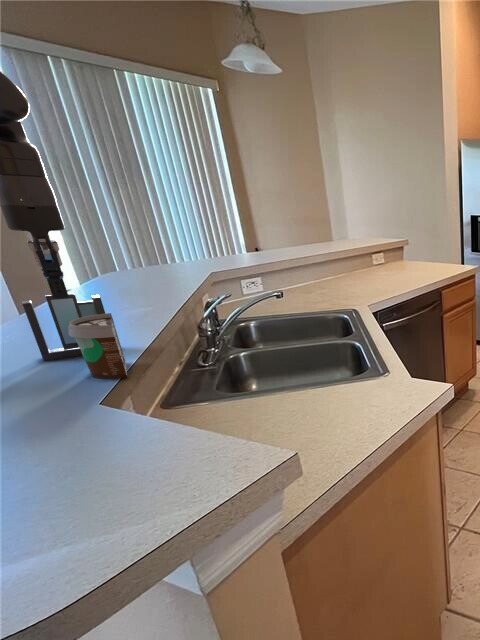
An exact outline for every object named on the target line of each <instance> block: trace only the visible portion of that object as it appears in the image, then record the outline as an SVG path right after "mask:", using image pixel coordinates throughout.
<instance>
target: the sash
mask: <svg viewBox="0 0 480 640" xmlns="http://www.w3.org/2000/svg"><path fill="white" fill-rule="evenodd" d="M44 297H45V299H46V302H47V303H46V304H47V306H48V308H49V311H50V314H51V316H52V319H53V322H54V324H55V329H56V331H57V334H58V337H59V339H60V342H61V346H62V348H64V350H65V349H73V348H79V345H78V343H77V341H76V339H75V337H71V336H69V332H68V326H69V325H70V323H69V322H70V321H72V320H74V319H78V318H81V317H82V315H81V312H80V309H79V306H78V303H77V302H78V300H77V297H76V294H75V293H73V292H72V293H68V297H67V298H59V299H56V298H54V297H53V296H52V294H47V295H44Z"/></svg>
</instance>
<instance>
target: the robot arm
mask: <svg viewBox="0 0 480 640" xmlns="http://www.w3.org/2000/svg"><path fill="white" fill-rule="evenodd" d="M29 113H30V103H29V101H28V98H27V96H26V95H25V93H24V92H23V91H22V90H21V88H19V86H18V85H17V84H16V83H15V82H14V81H13V80H11V78H10V77H8V76H7V75H6V74H4V73H3V72H2V71H1V70H0V210H1V212H2V215H3V218H4V221H5V223H6V226H7V228H8V229H9V230H11V231H15V232H28V233H30V236H31V239H32V240H26V242H27V245H28V248H29V251H31V252H32V254H33V257H34V260H35V263H36V265H37V266H38V267H40V268H41V269H40V270H41V272H42V275H43V278H45V280H46V281H47V285H48V287H49V290H50V292H51V293H50V294H51V295H52V296H53V297H54V298H56V299H59V298H67V297H68V294H69V293H68V290H67V287H66V284H65V281H64V277H65V275H64V272H63V271H62V266H63V262H62V259H61V256H60V253H59V251H60V246H59V244H58V241H57V240H56V239H51V237H50V235H49V233H50V232H58V231H64V230H65V228H66V227H65V224H64V220H63V218H62V214H61V210H60V208H59V205H58V202H57V198H56V195H55V192H54V189H53V188H52V185H51V184H50V181H49V179H48V176H47V173H46V170H45V166H44V163H43V160H42V158H41V155H40V152H39V150H38V149H37V147H36V146H35V145H34V144H32V143H31V142H30V141H29V139H28V137H27V134H26V131H25V128H24V126H23V123H22V121H23V120H24V119H26V118H27V117H28V115H29Z"/></svg>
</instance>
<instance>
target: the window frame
mask: <svg viewBox="0 0 480 640" xmlns="http://www.w3.org/2000/svg"><path fill="white" fill-rule="evenodd" d="M21 302H22V303H21V304H22V307H23V310H24V312H25V315H26V318H27V320H28V324H29V326H30V329H31V331H32V333H33V337H34V339H35V342H36V344H37V347H38V350H39V352H40V355H41V358H42V360H43V362H47V361H53V360H60V359H66V358H74V357H75V358H76V357H81V356H83V354H82V352H81V350H80V348H73V349H65V350H64V348H63V347H57V348H50V349H49V346H48V344H47V341H46V339H45V336H44V332H43V330H42V328H41V324H40V321H39V319H38V316H37V313H36V311H35V308H34V305H33V303H32V300H22V301H21ZM77 303H78V306H79V309H80V312H81V315H82V317H86V316H92V315H98V314H106V311H105V310H106V309H105V307H104V305H103V300H102V298H101V297H100V295H99V294H96V295H91V300H86V301H77Z"/></svg>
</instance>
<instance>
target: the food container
mask: <svg viewBox="0 0 480 640" xmlns="http://www.w3.org/2000/svg"><path fill="white" fill-rule="evenodd" d="M69 323H70V325H69V326H68V332H69V336H71V337H75V339H76V341H77V343H78V345H79V348H80V350H81V352H82V354H83V355H82V356H83V359H84V362H85V364H86V366H87V368H88V371H89V373H90V375H91V377H93V378H95V379H102V380H108V379H121V378H127V377H128V372H127V371H128V370H127V362H126V359H125V355H124V352H123V348H122V346H121V343H120V340H119V335H118V332H117V329H116V326H115V321H114V318H113V315H112V313H105V314H98V315H92V316H86V317H81V318H78V319H74V320H72V321H70V322H69Z"/></svg>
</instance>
